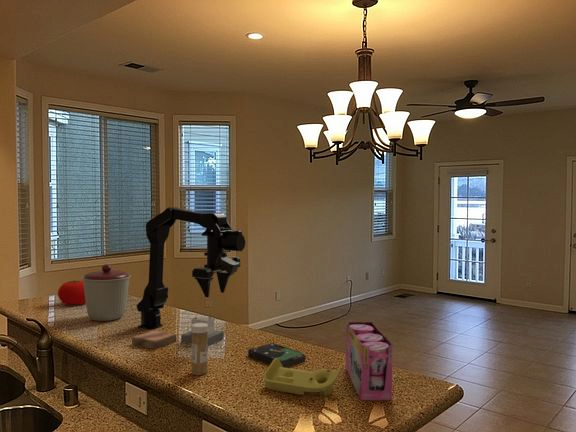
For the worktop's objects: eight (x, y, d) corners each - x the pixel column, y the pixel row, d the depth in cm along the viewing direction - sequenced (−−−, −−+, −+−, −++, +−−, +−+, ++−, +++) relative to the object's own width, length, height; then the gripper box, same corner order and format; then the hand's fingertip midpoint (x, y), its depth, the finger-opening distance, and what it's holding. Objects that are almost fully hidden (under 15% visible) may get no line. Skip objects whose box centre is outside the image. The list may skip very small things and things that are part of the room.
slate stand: (181, 342, 165) (181, 334, 165) (199, 334, 174) (199, 327, 174) (206, 346, 160) (206, 339, 160) (223, 338, 169) (223, 331, 169)
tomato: (86, 299, 227) (86, 276, 227) (97, 304, 218) (97, 280, 217) (53, 303, 218) (53, 280, 217) (63, 309, 208) (63, 284, 208)
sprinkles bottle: (208, 375, 136) (208, 326, 135) (191, 376, 135) (191, 326, 134) (207, 369, 140) (207, 321, 139) (190, 370, 139) (191, 322, 138)
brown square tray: (131, 344, 161) (131, 337, 161) (153, 337, 170) (153, 329, 170) (155, 349, 157) (156, 341, 157) (176, 341, 166) (176, 333, 166)
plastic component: (259, 380, 127) (277, 353, 134) (267, 401, 130) (285, 374, 137) (329, 391, 116) (344, 361, 124) (336, 414, 119) (351, 384, 127)
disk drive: (247, 358, 152) (281, 370, 141) (247, 349, 152) (281, 360, 141) (271, 351, 159) (306, 361, 149) (271, 342, 159) (306, 352, 149)
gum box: (394, 403, 119) (395, 347, 119) (361, 403, 119) (362, 347, 118) (371, 368, 143) (373, 321, 143) (344, 368, 143) (345, 321, 142)
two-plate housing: (191, 333, 166) (191, 317, 166) (199, 330, 170) (199, 315, 170) (206, 336, 164) (206, 320, 163) (214, 332, 168) (214, 317, 168)
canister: (116, 325, 184) (116, 268, 183) (71, 322, 187) (71, 266, 186) (138, 314, 202) (139, 262, 201) (97, 311, 205) (97, 260, 204)
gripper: (219, 253, 158) (219, 302, 158) (249, 248, 175) (249, 292, 175) (191, 251, 163) (190, 299, 163) (223, 246, 179) (222, 289, 180)
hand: (214, 295), depth 170 cm, fingers open, 9 cm apart
